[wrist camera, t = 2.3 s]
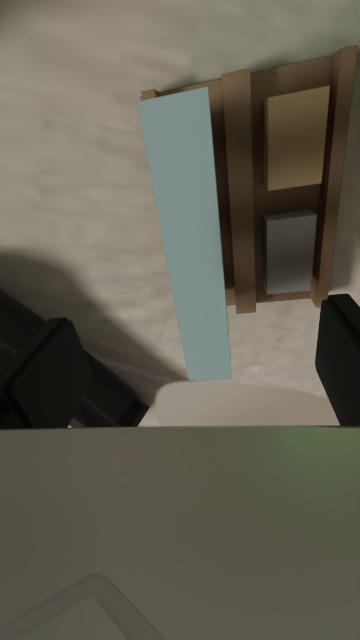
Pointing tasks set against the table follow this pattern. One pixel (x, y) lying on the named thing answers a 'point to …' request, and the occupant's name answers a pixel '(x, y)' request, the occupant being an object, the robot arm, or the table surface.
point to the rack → (246, 170)
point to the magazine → (104, 390)
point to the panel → (190, 224)
